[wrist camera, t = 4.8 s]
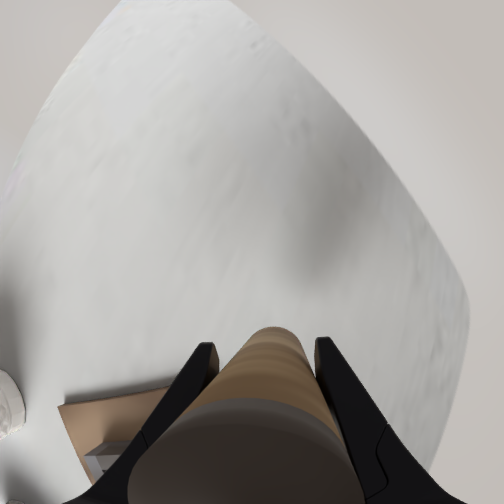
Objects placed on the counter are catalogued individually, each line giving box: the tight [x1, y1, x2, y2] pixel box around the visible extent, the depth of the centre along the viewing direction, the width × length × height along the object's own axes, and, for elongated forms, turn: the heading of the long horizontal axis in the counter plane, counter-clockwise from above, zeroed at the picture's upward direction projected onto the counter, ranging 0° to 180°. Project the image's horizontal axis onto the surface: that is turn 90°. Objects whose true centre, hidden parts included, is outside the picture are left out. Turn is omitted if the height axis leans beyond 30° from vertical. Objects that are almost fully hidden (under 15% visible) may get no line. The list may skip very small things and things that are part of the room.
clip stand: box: [58, 386, 170, 486], centre depth 18 cm, size 14×14×4 cm
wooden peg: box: [128, 327, 365, 504], centre depth 9 cm, size 3×3×13 cm
